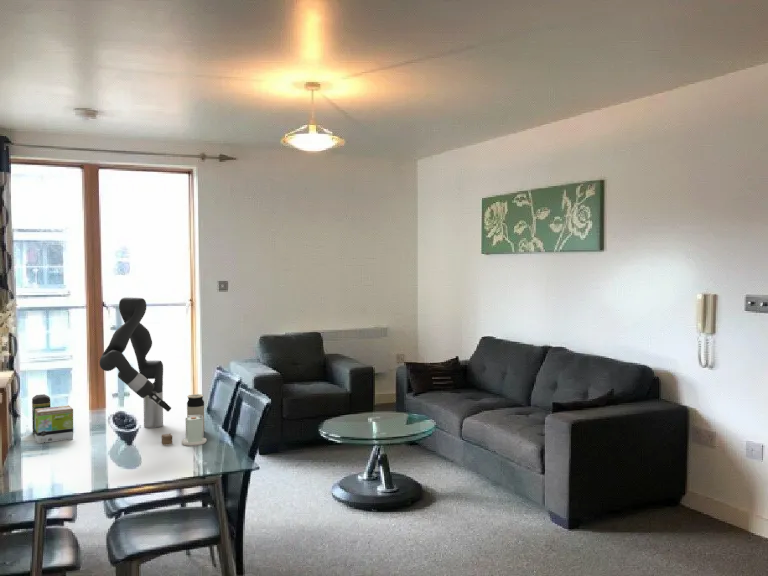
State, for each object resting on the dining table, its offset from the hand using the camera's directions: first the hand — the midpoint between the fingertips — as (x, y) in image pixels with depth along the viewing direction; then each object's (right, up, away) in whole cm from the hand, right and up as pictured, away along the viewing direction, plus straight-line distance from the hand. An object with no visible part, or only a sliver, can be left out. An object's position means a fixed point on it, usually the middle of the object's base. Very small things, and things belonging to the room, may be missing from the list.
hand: (168, 408), depth 292 cm
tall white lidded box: (+8, -17, +16) cm, 25 cm away
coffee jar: (-70, -17, +26) cm, 77 cm away
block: (-2, -17, +5) cm, 18 cm away
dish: (+10, -17, +6) cm, 20 cm away
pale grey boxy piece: (+10, -16, +6) cm, 19 cm away
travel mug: (+5, -17, +25) cm, 30 cm away
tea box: (-58, -17, +14) cm, 62 cm away
